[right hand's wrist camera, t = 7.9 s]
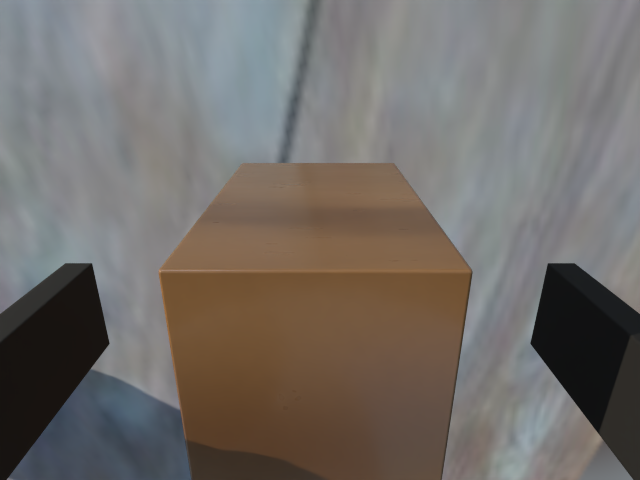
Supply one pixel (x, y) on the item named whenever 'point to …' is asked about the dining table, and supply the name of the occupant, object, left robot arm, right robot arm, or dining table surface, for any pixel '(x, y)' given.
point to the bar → (316, 327)
